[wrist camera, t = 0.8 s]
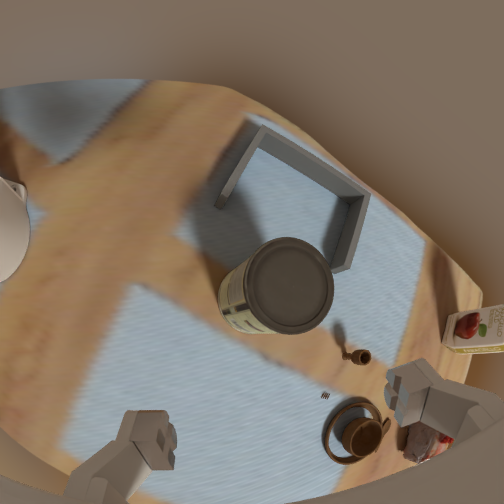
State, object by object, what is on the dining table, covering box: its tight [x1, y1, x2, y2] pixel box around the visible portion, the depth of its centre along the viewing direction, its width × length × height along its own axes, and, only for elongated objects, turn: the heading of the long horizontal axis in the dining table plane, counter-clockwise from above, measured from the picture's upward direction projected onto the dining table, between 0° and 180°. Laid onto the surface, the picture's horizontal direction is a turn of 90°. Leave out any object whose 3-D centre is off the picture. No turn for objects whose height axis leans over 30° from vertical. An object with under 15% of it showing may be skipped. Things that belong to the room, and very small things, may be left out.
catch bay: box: [214, 124, 371, 274], centre depth 49 cm, size 22×15×4 cm
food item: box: [403, 420, 454, 464], centre depth 43 cm, size 14×8×10 cm, turn 161°
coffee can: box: [218, 237, 334, 335], centre depth 38 cm, size 10×10×14 cm
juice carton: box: [442, 304, 504, 354], centre depth 47 cm, size 8×9×19 cm
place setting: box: [321, 350, 391, 465], centre depth 43 cm, size 18×20×6 cm
